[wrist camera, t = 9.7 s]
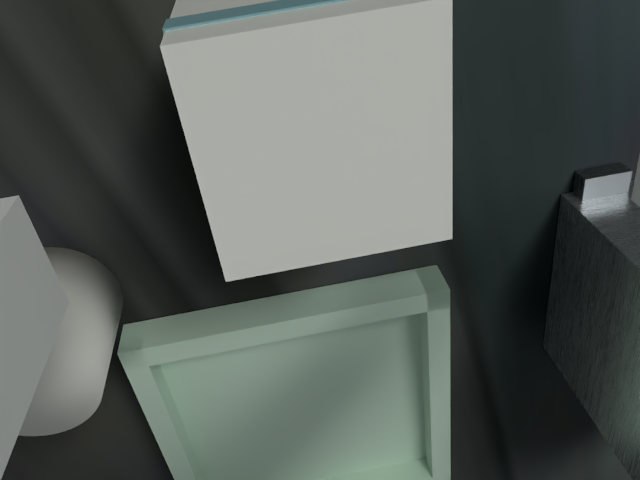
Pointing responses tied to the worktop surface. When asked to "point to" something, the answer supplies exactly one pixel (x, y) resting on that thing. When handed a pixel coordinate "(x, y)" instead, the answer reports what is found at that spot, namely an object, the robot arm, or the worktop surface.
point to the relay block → (315, 125)
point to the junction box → (599, 304)
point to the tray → (302, 383)
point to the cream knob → (76, 345)
